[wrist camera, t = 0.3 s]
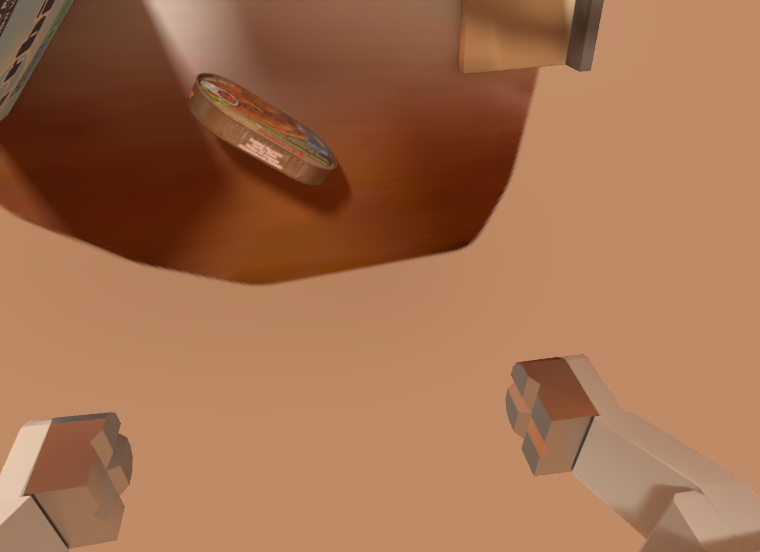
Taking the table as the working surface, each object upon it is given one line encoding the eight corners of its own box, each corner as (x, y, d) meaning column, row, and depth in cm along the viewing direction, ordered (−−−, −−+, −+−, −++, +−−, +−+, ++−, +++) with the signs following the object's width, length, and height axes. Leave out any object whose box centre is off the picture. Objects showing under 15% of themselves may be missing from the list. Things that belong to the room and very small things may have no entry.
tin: (333, 143, 57) (345, 176, 50) (317, 167, 58) (327, 201, 52) (201, 61, 50) (195, 86, 43) (186, 89, 51) (177, 118, 44)
